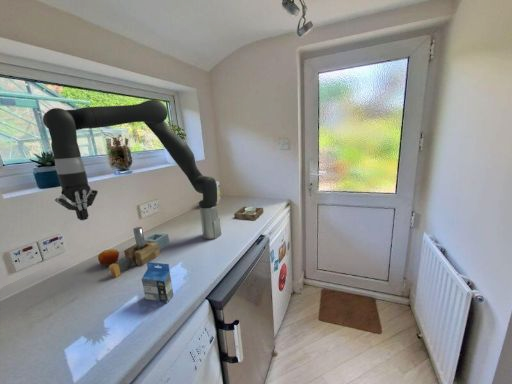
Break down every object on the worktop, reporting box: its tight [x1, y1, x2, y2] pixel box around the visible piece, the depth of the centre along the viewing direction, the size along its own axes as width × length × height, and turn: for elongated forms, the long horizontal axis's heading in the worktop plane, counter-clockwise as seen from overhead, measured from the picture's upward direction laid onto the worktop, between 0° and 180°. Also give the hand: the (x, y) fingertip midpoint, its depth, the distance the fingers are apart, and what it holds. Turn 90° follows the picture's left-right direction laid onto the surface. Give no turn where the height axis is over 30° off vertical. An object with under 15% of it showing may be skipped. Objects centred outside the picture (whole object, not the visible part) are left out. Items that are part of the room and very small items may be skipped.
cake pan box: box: [216, 181, 221, 205], centre depth 182 cm, size 19×5×18 cm, turn 168°
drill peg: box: [132, 226, 146, 250], centre depth 104 cm, size 4×4×15 cm
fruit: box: [97, 248, 120, 268], centre depth 102 cm, size 8×8×8 cm
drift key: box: [108, 258, 133, 278], centre depth 96 cm, size 3×8×5 cm, turn 158°
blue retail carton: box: [141, 261, 174, 303], centre depth 77 cm, size 9×4×12 cm, turn 77°
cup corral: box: [233, 206, 264, 221], centre depth 155 cm, size 15×15×4 cm
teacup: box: [243, 206, 256, 214], centre depth 156 cm, size 10×10×5 cm
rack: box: [144, 232, 170, 251], centre depth 117 cm, size 9×9×6 cm
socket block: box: [123, 241, 161, 267], centre depth 106 cm, size 10×10×6 cm
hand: (83, 219), depth 81 cm, fingers closed
